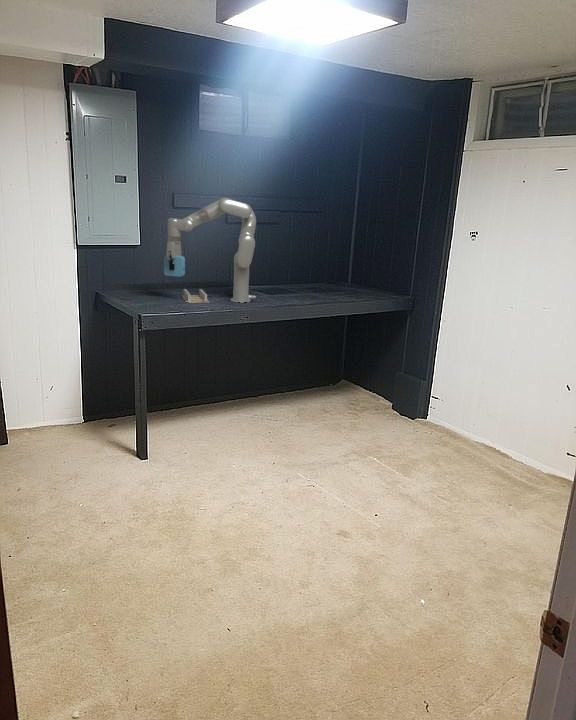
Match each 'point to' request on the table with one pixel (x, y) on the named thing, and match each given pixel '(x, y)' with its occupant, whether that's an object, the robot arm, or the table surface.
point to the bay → (195, 297)
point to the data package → (175, 267)
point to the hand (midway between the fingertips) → (174, 269)
